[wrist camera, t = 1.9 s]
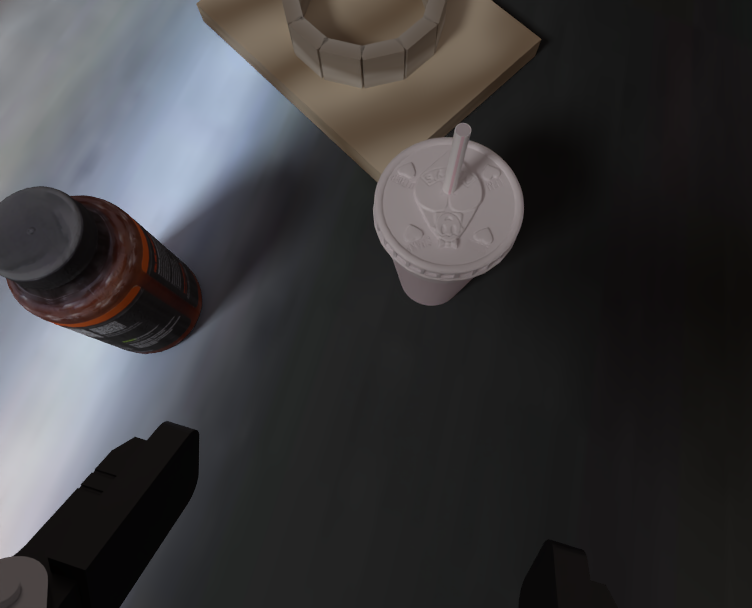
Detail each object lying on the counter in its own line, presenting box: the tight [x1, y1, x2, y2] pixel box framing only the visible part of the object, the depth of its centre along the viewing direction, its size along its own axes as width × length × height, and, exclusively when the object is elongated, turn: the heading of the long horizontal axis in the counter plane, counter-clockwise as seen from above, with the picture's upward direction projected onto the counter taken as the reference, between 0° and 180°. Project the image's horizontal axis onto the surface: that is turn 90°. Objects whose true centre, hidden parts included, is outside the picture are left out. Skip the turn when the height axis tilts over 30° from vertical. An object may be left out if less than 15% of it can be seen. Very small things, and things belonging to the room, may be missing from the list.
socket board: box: [197, 0, 541, 182], centre depth 34 cm, size 18×14×4 cm
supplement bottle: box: [0, 186, 202, 354], centre depth 26 cm, size 6×6×11 cm
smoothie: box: [373, 123, 524, 306], centre depth 25 cm, size 6×6×14 cm
